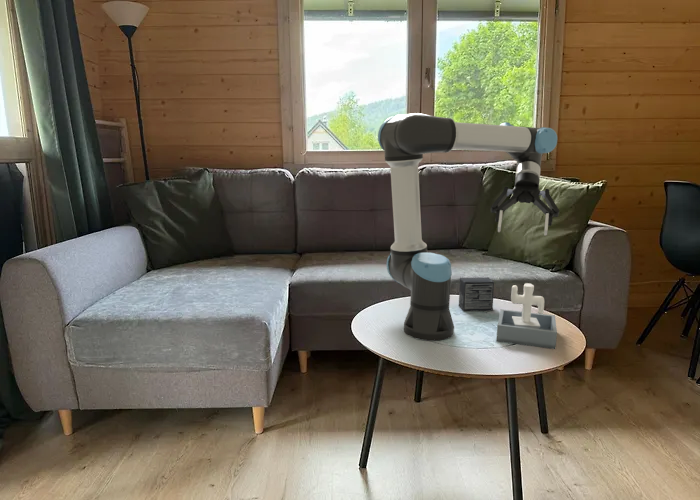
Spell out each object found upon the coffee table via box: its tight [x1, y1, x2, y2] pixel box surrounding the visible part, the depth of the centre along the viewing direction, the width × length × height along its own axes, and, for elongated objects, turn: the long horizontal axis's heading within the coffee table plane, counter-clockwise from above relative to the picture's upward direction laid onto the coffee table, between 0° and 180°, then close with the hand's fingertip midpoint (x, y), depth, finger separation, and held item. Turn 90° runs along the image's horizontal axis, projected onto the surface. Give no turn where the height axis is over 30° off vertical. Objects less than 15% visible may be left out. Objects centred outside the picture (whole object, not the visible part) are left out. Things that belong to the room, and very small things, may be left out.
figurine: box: [510, 282, 545, 329], centre depth 149 cm, size 7×9×15 cm
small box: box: [458, 276, 495, 312], centre depth 174 cm, size 11×6×10 cm, turn 94°
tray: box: [495, 309, 558, 350], centre depth 150 cm, size 16×15×5 cm
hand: (522, 231), depth 153 cm, fingers open, 13 cm apart
